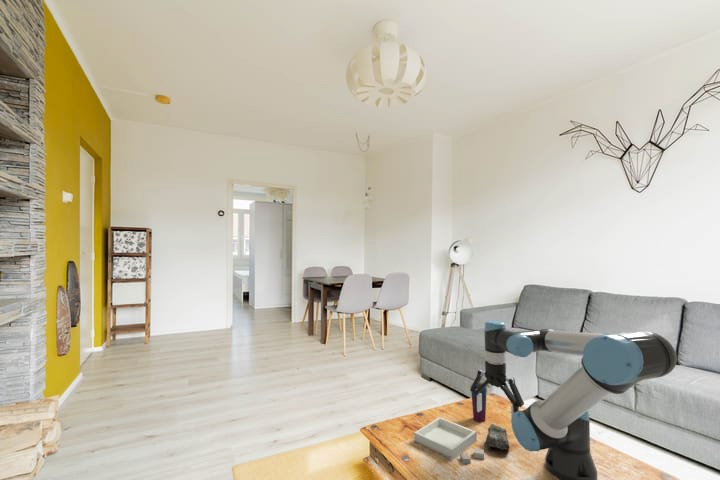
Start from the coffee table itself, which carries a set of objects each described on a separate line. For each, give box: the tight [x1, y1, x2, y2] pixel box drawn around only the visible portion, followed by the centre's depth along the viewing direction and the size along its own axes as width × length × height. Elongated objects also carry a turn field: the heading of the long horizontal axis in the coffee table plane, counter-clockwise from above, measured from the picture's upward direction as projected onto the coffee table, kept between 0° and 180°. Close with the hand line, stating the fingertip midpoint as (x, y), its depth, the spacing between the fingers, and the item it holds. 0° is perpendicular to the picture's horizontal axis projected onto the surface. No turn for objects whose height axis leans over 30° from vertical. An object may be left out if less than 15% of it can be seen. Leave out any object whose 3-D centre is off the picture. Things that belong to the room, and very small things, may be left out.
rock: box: [484, 423, 511, 451], centre depth 132 cm, size 13×9×6 cm, turn 162°
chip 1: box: [459, 453, 472, 464], centre depth 123 cm, size 3×3×2 cm
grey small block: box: [473, 448, 485, 460], centre depth 125 cm, size 4×3×2 cm
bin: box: [413, 417, 478, 461], centre depth 136 cm, size 17×18×4 cm
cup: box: [470, 382, 488, 423], centre depth 153 cm, size 7×7×15 cm
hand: (496, 416), depth 132 cm, fingers open, 13 cm apart
